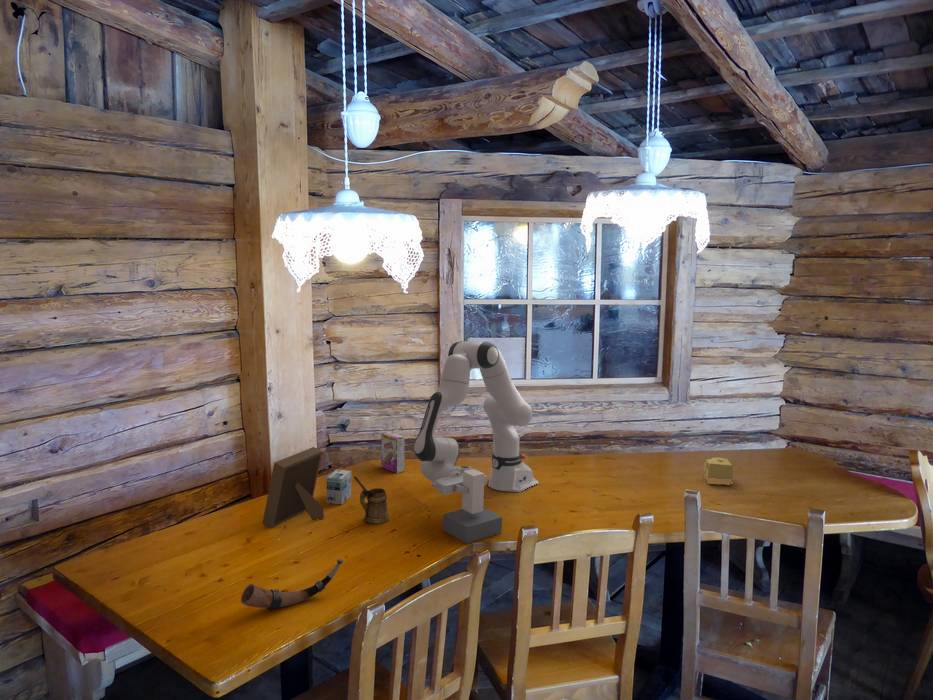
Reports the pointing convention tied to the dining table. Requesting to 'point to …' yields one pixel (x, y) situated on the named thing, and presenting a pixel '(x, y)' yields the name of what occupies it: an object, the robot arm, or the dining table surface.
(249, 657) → the dining table surface
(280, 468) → the photo frame
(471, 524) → the podium
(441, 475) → the robot arm
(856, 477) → the dining table surface
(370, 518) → the wooden mug
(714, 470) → the cheese
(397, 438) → the candy bar box
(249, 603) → the drinking horn
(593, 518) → the dining table surface
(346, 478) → the light bulb box
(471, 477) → the carton
